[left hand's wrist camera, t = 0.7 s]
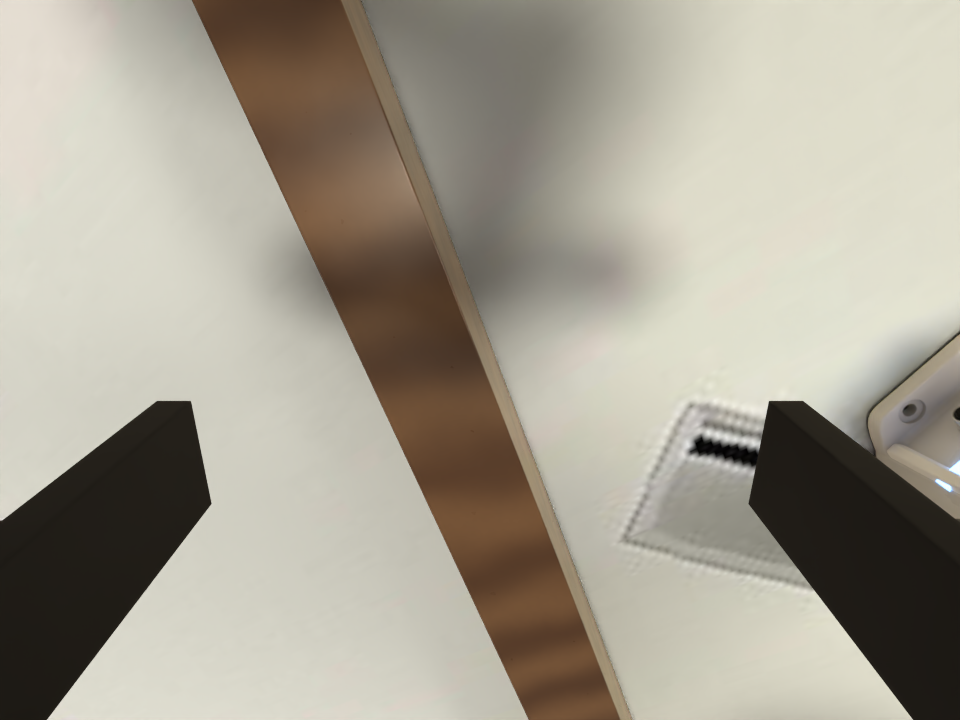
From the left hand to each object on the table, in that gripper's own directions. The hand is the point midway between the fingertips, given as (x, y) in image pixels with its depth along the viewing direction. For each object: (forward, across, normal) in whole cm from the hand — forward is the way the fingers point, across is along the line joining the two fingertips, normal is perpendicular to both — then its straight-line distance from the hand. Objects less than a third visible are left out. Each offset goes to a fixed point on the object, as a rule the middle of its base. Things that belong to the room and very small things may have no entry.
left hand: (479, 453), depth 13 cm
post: (+22, +3, -20) cm, 30 cm away
